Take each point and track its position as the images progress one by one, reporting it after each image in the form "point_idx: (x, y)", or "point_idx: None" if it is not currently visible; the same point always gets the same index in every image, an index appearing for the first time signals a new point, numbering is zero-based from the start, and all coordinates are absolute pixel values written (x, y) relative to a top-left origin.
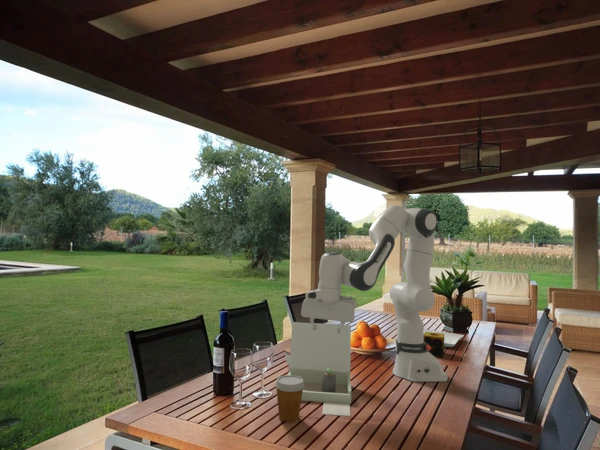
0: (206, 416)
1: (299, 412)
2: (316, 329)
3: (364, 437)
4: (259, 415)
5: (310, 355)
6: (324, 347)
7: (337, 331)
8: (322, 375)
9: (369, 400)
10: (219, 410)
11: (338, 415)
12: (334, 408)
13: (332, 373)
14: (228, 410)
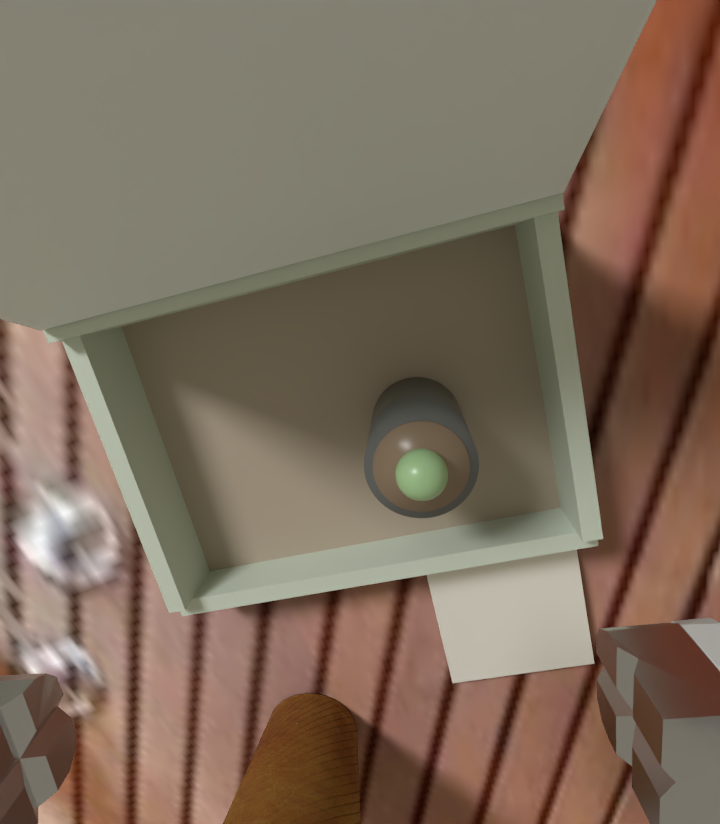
0: None
1: (355, 743)
2: (53, 679)
3: None
4: (189, 742)
5: (131, 241)
6: (241, 139)
7: (631, 751)
8: (371, 487)
9: (687, 403)
10: None
11: (532, 668)
12: (499, 614)
13: (447, 454)
14: None
